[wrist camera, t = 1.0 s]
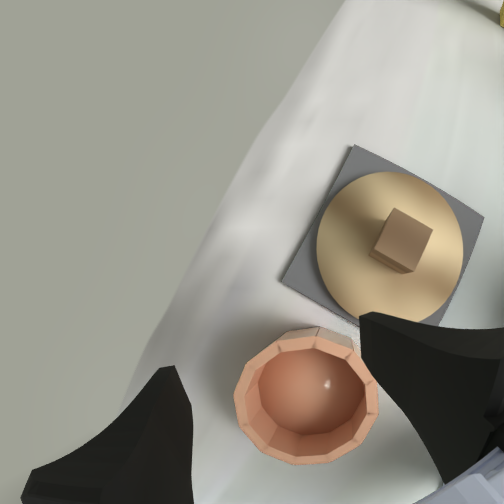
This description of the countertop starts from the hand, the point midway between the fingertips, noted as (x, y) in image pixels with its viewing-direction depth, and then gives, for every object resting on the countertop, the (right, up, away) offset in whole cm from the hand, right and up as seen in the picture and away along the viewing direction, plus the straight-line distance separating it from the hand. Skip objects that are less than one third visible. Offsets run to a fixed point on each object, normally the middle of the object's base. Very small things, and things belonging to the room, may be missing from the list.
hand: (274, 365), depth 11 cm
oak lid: (+10, +4, +11) cm, 16 cm away
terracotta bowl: (+4, -7, +12) cm, 15 cm away
